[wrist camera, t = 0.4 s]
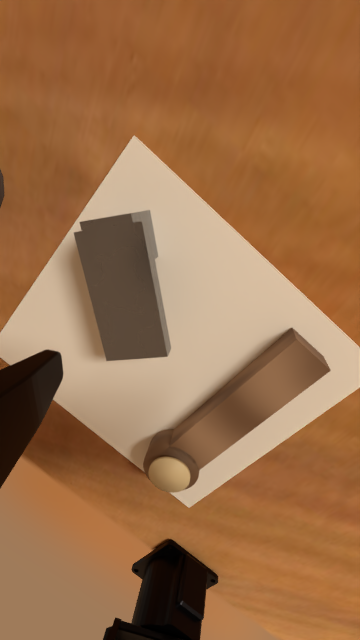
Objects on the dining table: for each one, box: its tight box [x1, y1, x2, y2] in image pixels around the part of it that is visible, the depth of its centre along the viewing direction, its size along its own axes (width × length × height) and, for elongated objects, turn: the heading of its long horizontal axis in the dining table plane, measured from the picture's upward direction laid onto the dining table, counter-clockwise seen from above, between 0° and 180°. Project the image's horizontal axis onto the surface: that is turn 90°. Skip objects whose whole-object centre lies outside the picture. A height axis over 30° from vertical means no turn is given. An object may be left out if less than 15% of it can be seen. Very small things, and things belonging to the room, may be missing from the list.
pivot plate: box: [0, 136, 360, 508], centre depth 24 cm, size 20×22×3 cm
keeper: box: [74, 210, 171, 361], centre depth 21 cm, size 8×4×4 cm, turn 9°
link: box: [143, 328, 331, 490], centre depth 25 cm, size 16×4×2 cm, turn 139°
